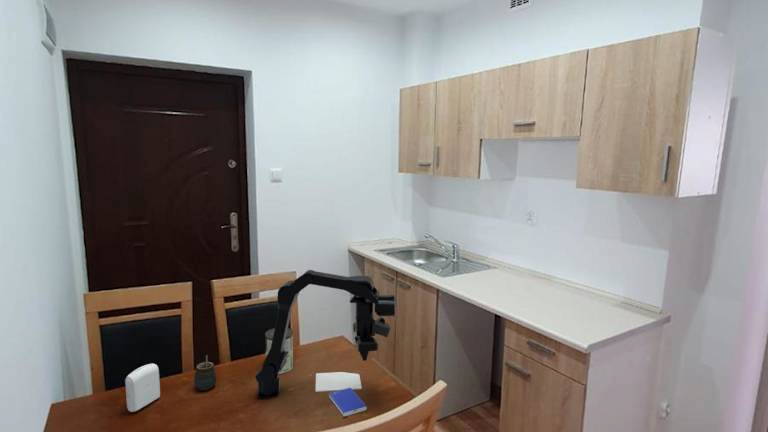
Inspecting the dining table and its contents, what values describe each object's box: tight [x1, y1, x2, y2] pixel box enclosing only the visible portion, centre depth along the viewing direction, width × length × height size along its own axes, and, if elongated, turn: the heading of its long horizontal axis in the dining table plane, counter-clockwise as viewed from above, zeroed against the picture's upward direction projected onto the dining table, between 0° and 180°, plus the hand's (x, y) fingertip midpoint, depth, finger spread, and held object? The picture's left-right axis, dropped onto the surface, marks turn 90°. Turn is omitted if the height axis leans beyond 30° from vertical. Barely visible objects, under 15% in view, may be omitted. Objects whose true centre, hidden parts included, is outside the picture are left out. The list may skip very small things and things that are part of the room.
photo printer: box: [124, 363, 161, 413], centre depth 135 cm, size 10×4×12 cm, turn 158°
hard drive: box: [328, 388, 368, 417], centre depth 137 cm, size 2×8×12 cm
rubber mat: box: [315, 371, 363, 393], centre depth 151 cm, size 16×12×1 cm
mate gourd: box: [193, 354, 217, 391], centre depth 146 cm, size 7×8×10 cm
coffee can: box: [264, 327, 294, 374], centre depth 160 cm, size 10×10×14 cm
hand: (364, 360), depth 139 cm, fingers closed
